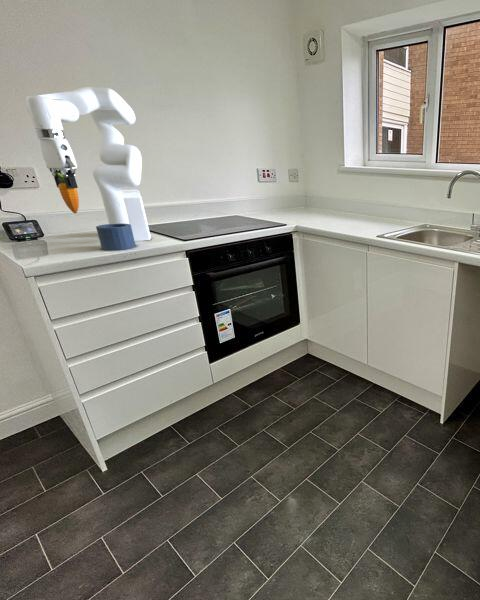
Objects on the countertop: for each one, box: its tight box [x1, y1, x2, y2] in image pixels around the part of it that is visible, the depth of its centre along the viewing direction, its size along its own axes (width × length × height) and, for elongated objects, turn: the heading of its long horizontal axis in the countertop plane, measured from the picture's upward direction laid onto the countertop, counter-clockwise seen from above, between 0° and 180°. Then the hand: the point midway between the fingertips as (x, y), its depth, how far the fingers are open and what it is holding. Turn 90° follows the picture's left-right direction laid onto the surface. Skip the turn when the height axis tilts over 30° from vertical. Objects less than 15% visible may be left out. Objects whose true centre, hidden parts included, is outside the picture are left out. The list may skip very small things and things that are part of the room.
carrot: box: [57, 173, 80, 214], centre depth 134 cm, size 5×5×15 cm
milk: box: [122, 189, 152, 242], centre depth 157 cm, size 6×6×22 cm
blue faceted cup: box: [95, 223, 137, 252], centre depth 144 cm, size 11×11×9 cm
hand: (67, 187), depth 133 cm, fingers closed on carrot, 4 cm apart
